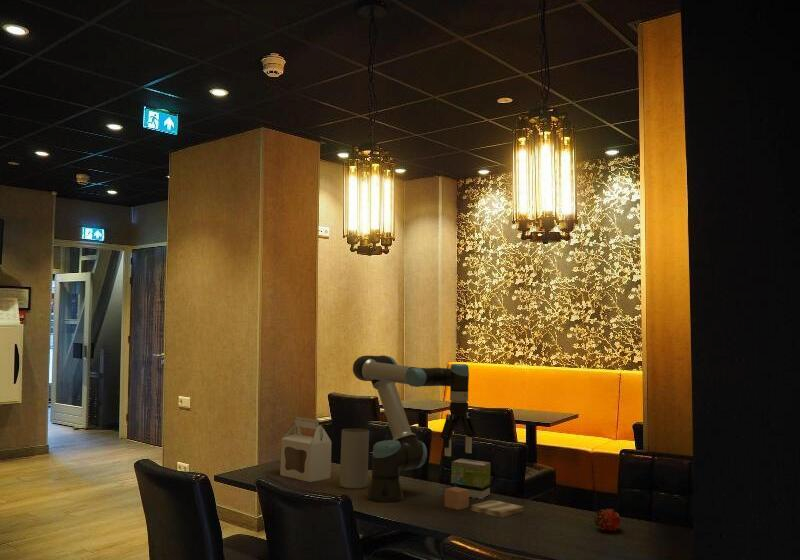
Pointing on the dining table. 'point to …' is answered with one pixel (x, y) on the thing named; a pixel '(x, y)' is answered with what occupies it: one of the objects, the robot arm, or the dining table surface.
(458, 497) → the terracotta cube
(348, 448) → the cylinder vase
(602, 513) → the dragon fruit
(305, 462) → the gable box
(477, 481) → the tea box
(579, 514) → the dining table surface
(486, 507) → the birch board
